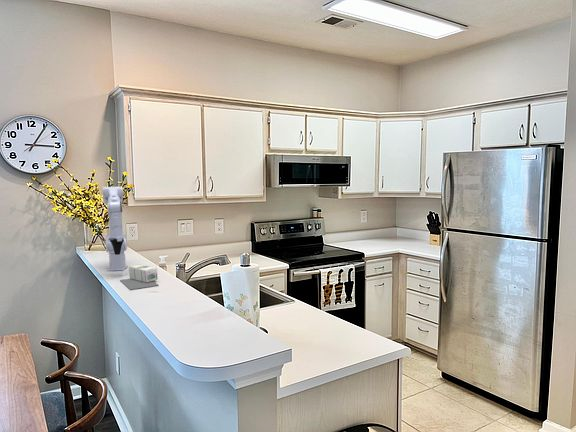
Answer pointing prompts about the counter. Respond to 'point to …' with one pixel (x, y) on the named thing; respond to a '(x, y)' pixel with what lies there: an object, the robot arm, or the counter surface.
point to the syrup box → (143, 273)
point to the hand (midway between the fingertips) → (117, 254)
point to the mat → (137, 284)
